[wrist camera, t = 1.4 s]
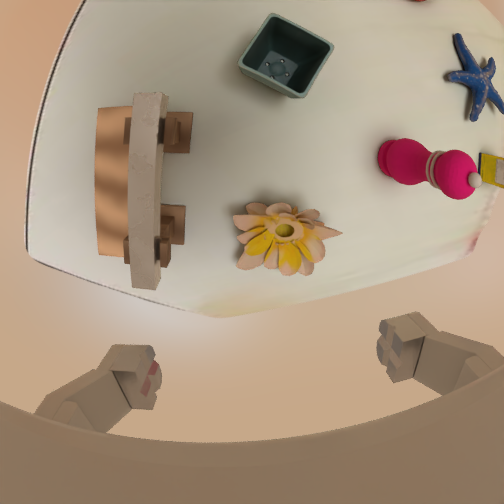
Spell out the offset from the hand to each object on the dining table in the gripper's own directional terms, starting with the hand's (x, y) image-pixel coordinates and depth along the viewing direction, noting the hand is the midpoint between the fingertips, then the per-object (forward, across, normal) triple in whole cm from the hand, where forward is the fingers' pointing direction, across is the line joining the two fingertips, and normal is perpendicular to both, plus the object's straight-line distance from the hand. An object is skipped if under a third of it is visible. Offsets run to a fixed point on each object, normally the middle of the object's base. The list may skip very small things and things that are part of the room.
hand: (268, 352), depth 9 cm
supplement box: (+36, -51, -6) cm, 62 cm away
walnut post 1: (+32, +10, -13) cm, 36 cm away
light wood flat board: (+33, +21, -7) cm, 39 cm away
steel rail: (+23, +11, -5) cm, 26 cm away
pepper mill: (+34, -24, -7) cm, 43 cm away
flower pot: (+32, -6, -21) cm, 39 cm away
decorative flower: (+35, -4, +4) cm, 35 cm away
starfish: (+33, -46, -25) cm, 63 cm away
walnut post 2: (+34, +13, +1) cm, 36 cm away
